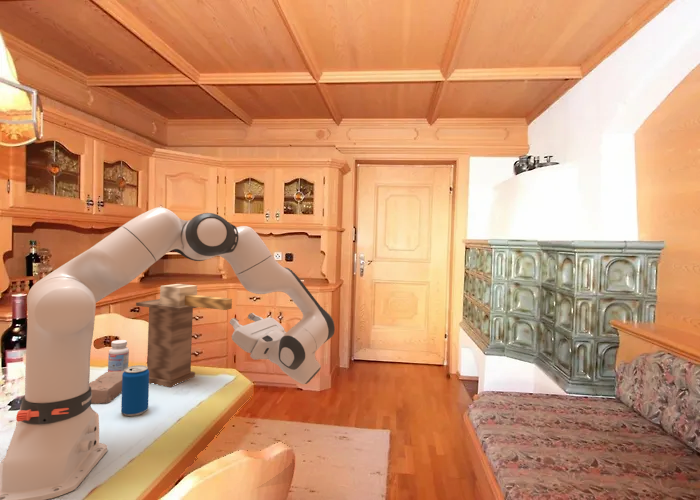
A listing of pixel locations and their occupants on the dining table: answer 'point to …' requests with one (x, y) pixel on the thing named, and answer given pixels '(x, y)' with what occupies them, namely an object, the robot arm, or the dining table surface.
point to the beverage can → (135, 390)
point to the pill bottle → (118, 356)
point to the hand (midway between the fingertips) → (241, 317)
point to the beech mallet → (191, 297)
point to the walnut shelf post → (169, 343)
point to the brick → (106, 387)
